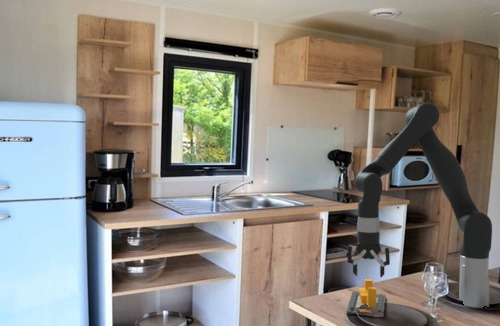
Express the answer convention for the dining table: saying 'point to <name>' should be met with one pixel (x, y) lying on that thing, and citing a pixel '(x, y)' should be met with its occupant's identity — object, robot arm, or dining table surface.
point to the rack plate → (356, 303)
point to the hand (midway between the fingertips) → (368, 275)
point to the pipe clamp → (368, 293)
